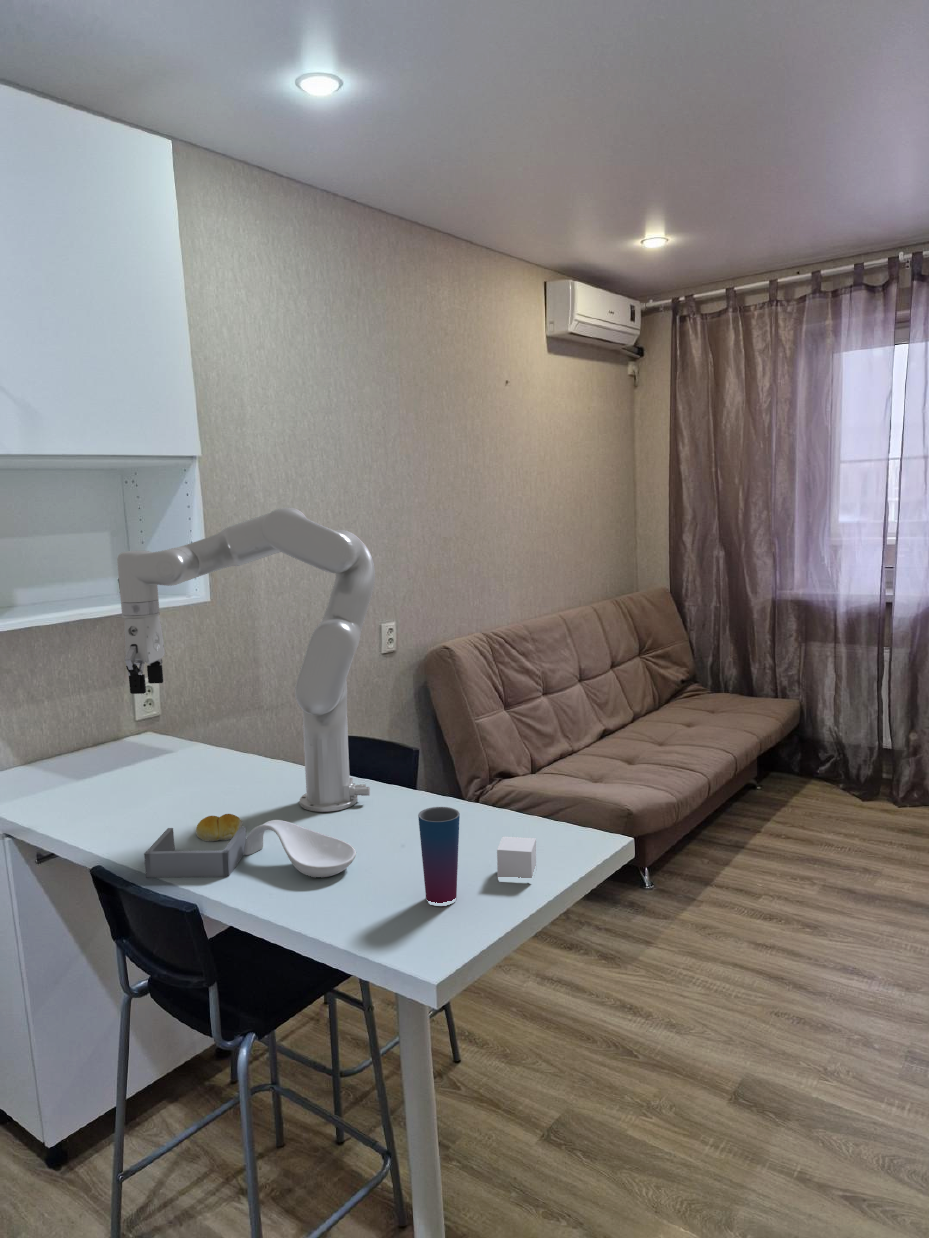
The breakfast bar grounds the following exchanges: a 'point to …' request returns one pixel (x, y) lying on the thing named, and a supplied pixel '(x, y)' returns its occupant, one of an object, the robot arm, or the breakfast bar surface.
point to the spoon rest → (305, 848)
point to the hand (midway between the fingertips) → (147, 688)
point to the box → (192, 858)
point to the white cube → (516, 857)
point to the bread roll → (218, 827)
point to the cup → (439, 852)
